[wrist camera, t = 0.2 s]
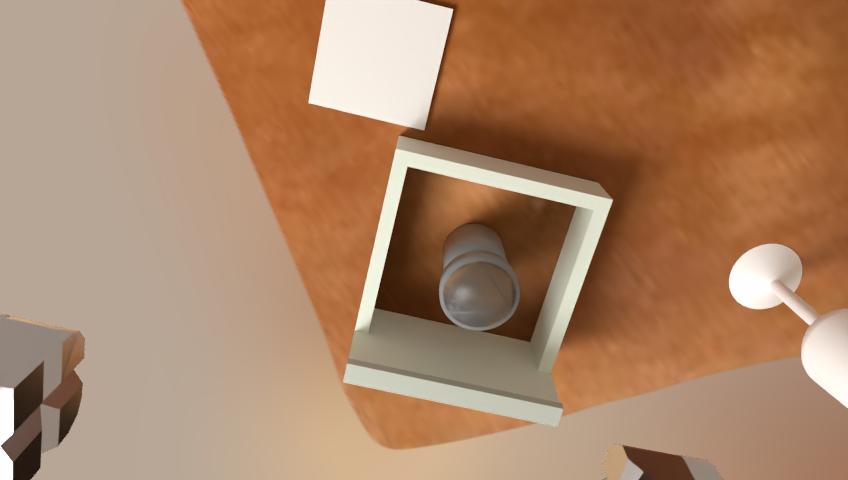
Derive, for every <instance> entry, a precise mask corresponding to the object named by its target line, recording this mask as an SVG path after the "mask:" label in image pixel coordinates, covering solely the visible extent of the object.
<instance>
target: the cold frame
mask: <svg viewBox="0 0 848 480" xmlns="http://www.w3.org/2000/svg"><path fill="white" fill-rule="evenodd" d="M407 167H412V168H416V169H420V170H425V171H429V172H433V173H437V174H442V175H446V176H450V177H454V178H459V179H463V180H467V181H471V182H476V183H480V184H484V185H488V186H493V187H497V188H501V189H506V190H510V191H514V192H518V193H523V194H527V195H531V196H535V197H540V198H544V199H548V200H552V201H557V202H561V203H565V204H570V205H574V206H576V209H575V211H574V214H573V217H572V220H571V223H570V226H569V229H568V232H567V235H566V238H565V241H564V244H563V247H562V250H561V253H560V256H559V259H558V261H557V264H556V267H555V270H554V273H553V276H552V279H551V282H550V285H549V288H548V291H547V294H546V297H545V300H544V303H543V306H542V309H541V311H540V314H539V317H538V320H537V323H536V326H535V329H534V332H533V335H532V338H531V341H530V342H528V341H523V340H519V339H514V338H509V337H505V336H500V335H496V334H491V333H486V332H482V331H474V330H469V329H465V328H462V327H459V326H454V325H450V324H445V323H440V322H436V321H431V320H427V319H422V318H417V317H413V316H408V315H404V314H399V313H394V312H390V311H385V310H381V309H376V308H374V306H375V302H376V298H377V294H378V289H379V285H380V281H381V277H382V272H383V268H384V264H385V260H386V255H387V251H388V247H389V243H390V238H391V234H392V230H393V226H394V221H395V217H396V213H397V209H398V204H399V200H400V196H401V192H402V187H403V183H404V179H405V175H406V170H407ZM612 201H613V199H612V198H611V197H610V196H609V195H608V193H607V192H606V191H605V190H604V189H603V187H602V186H601V185H600V184H599V183H598V182H594V181H589V180H585V179H581V178H577V177H573V176H568V175H564V174H560V173H556V172H552V171H547V170H543V169H539V168H535V167H531V166H526V165H522V164H518V163H514V162H510V161H505V160H501V159H497V158H493V157H489V156H484V155H480V154H476V153H472V152H468V151H463V150H459V149H455V148H451V147H447V146H442V145H438V144H434V143H430V142H425V141H421V140H417V139H413V138H409V137H404V136H400V135H399V138H398V142H397V146H396V151H395V155H394V160H393V164H392V168H391V173H390V177H389V182H388V186H387V190H386V195H385V199H384V204H383V208H382V213H381V217H380V221H379V226H378V230H377V235H376V239H375V243H374V248H373V252H372V257H371V261H370V265H369V270H368V274H367V279H366V283H365V288H364V292H363V296H362V301H361V305H360V310H359V314H358V318H357V323H356V327H355V332H354V336H353V341H352V345H351V349H350V354H349V358H348V363H347V367H346V372H345V376H344V380H343V382H344V383H349V384H354V385H359V386H364V387H368V388H373V389H378V390H383V391H388V392H392V393H397V394H402V395H407V396H412V397H416V398H421V399H426V400H431V401H436V402H440V403H445V404H450V405H455V406H460V407H464V408H469V409H474V410H479V411H484V412H488V413H493V414H498V415H503V416H508V417H512V418H517V419H522V420H527V421H532V422H536V423H541V424H546V425H551V426H556V427H557V425H558V423H559V420H560V418H561V415H562V412H563V410H564V408H563V405H562V403H560V402H559V399H558V395H557V392H556V389H555V386H554V382H553V379H552V376H551V371H552V368H553V365H554V362H555V359H556V357H557V354H558V351H559V348H560V346H561V343H562V340H563V337H564V334H565V332H566V329H567V326H568V323H569V321H570V318H571V315H572V312H573V310H574V307H575V304H576V301H577V298H578V296H579V293H580V290H581V287H582V285H583V282H584V279H585V276H586V273H587V271H588V268H589V265H590V262H591V260H592V257H593V254H594V251H595V248H596V246H597V243H598V240H599V237H600V235H601V232H602V229H603V226H604V223H605V221H606V218H607V215H608V212H609V210H610V207H611V204H612Z"/></svg>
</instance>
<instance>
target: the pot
mask: <svg viewBox="0 0 848 480" xmlns="http://www.w3.org/2000/svg"><path fill="white" fill-rule="evenodd" d="M439 298H440V304H441V307H442V309H443V311H444V313H445V314H446V316H447V317H448V318H449V319H450V320H451V321H452V322H453V323H455V324H456V325H458V326H460V327H462V328H465V329H469V330H474V331H482V330H489V329H492V328H495V327H498V326H500V325H501V324H503V323H504V322H506V321H507V320H508V319H509V318H510V317H511V316H512V315H513V314H514V312H515V310H516V309H517V306H518V304H519V300H520V287H519V283H518V279H517V276H516V273H515V271H514V269H513V267H512V266H511V265H510V264H509V263H508V261H507V258H506V254H505V251H504V247H503V243H502V241H501V239H500V237H499V235H498V234H497V233H496V232H495V231H494V230H493V229H491V228H490V227H488V226H485V225H482V224H477V223H471V224H465V225H462V226H460V227H458V228H456V229H455V230H453V231H452V232H451V233H450V234H449V235H448V237H447V238H446V240H445V243H444V246H443V273H442V275H441V278H440V282H439Z"/></svg>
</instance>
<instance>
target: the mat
mask: <svg viewBox="0 0 848 480" xmlns="http://www.w3.org/2000/svg"><path fill="white" fill-rule="evenodd" d="M452 13H453V9H451V8H447V7H443V6H439V5H435V4H431V3H427V2H423V1H419V0H326V3H325V9H324V15H323V21H322V27H321V32H320V38H319V44H318V50H317V56H316V61H315V67H314V73H313V79H312V85H311V90H310V96H309V102H308V103H311V104H315V105H319V106H323V107H328V108H332V109H336V110H340V111H344V112H349V113H353V114H357V115H361V116H365V117H369V118H374V119H378V120H382V121H386V122H390V123H395V124H399V125H403V126H407V127H411V128H416V129H420V130H425V125H426V121H427V117H428V113H429V109H430V105H431V100H432V96H433V92H434V88H435V84H436V80H437V75H438V71H439V67H440V63H441V59H442V55H443V50H444V46H445V42H446V38H447V34H448V30H449V25H450V21H451V17H452Z"/></svg>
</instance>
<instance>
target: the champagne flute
mask: <svg viewBox="0 0 848 480" xmlns="http://www.w3.org/2000/svg"><path fill="white" fill-rule="evenodd" d="M801 278H802V264H801V260H800V259H799V257H798V255H797V254H796V253H795V252H794V251H793V250H792V249H790V248H789V247H786V246H784V245H780V244H765V245H760V246H757V247H755V248H753V249H751V250H749V251H747V252H746V253H745V254H744V255H742V256H741V257H740V258H739V259H738V260H737V262H736V263H735V265H734V266H733V268H732V271H731V273H730V278H729V287H730V291H731V293H732V295H733V297H734V298H735V299H736V300H737V301H738V302H739V303H740V304H742V305H743V306H746V307H748V308H753V309H766V308H771V307H774V306H776V305H778V304H780V303H782V302H784V303H785V304H786V305H787V306H789V307H790V308H791V309H792V310H793V311H794V312H795V313H796V314H798V315H799V316H800V317H801V318H802V319H803V320H804V321H805V322H806V323H808V324H809V325H810V326H809V328H808V329H807V331H806V333H805V335H804V338H803V341H802V346H801V359H802V363H803V366H804V368H805V370H806V372H807V373H808V375H809V376H810V377H811V378H812V379H813V380H814V381H815V382H816V383H817V384H819V385H820V386H821V387H822V388H824V389H825V390H826V391H827V392H828V393H830V394H831V395H832V396H833V397H835V398H836V399H837V400H838V401H840V402H841V403H842V404H843V405H845V406H846V407H847V408H848V308H845V309H839V310H835V311H831V312H828V313H826V314H824V315H822V316H821V315H820V314H819V313H818V312H817V311H815V310H814V309H813V308H812V307H811V306H809V305H808V304H807V303H806V302H805V301H804V300H802V299H801V298H800V297H799V296H798V295H796V294H795V293H794V292H795V290H796V289H797V287H798V286H799V284H800V281H801Z"/></svg>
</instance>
